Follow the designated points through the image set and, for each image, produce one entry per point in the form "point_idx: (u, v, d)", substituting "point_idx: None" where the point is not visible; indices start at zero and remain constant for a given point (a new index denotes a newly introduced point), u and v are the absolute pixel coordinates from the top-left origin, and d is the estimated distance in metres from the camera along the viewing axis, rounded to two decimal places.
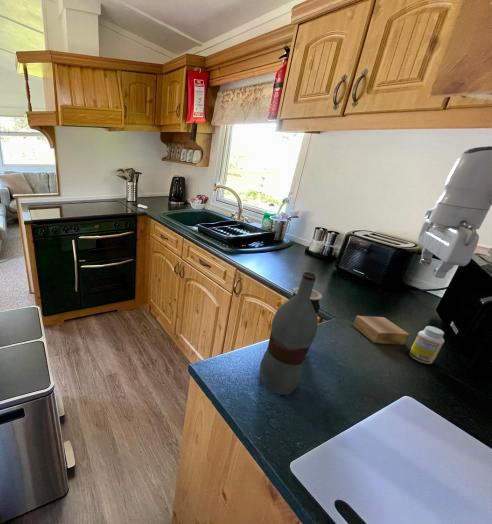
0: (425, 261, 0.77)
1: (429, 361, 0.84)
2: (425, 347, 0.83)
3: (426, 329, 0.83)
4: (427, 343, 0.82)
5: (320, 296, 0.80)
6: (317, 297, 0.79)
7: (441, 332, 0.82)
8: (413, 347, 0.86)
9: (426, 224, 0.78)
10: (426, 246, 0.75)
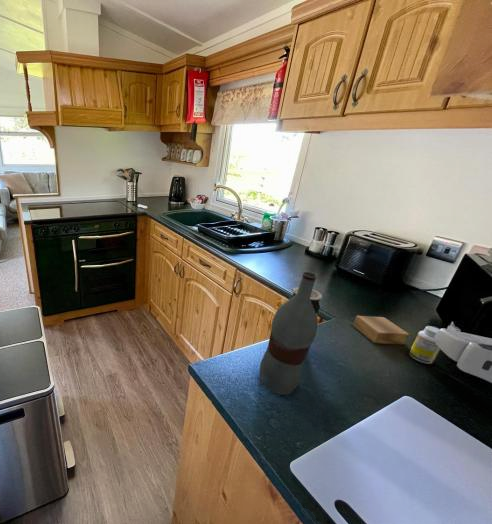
0: None
1: (429, 361, 0.84)
2: (425, 347, 0.83)
3: (426, 329, 0.83)
4: (427, 343, 0.82)
5: (320, 296, 0.80)
6: (317, 297, 0.79)
7: None
8: (413, 347, 0.86)
9: None
10: None
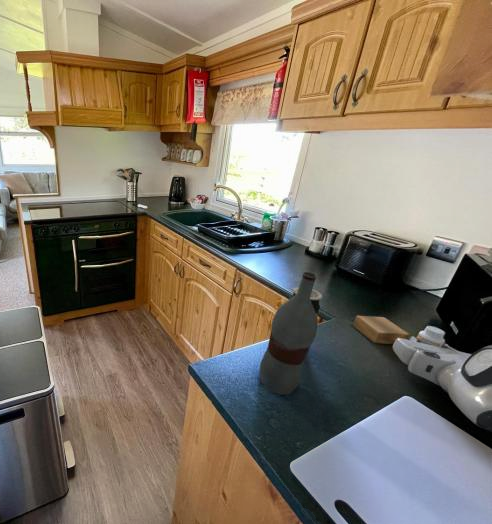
0: None
1: None
2: None
3: (427, 329, 0.83)
4: (428, 343, 0.82)
5: (320, 296, 0.80)
6: (317, 297, 0.79)
7: (442, 332, 0.82)
8: None
9: None
10: None
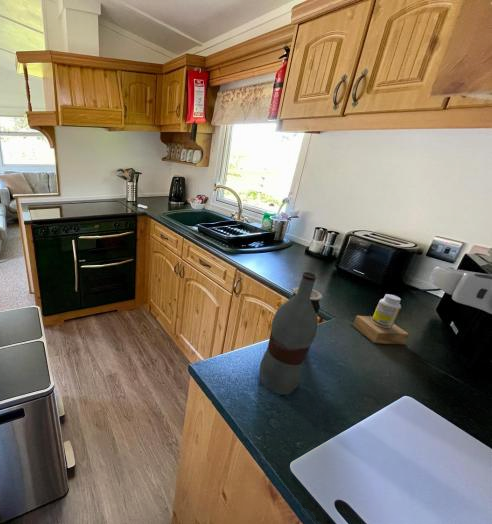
0: None
1: (388, 325, 0.93)
2: (384, 313, 0.93)
3: (385, 296, 0.93)
4: (386, 309, 0.92)
5: (320, 296, 0.80)
6: (317, 297, 0.79)
7: (398, 298, 0.91)
8: (375, 314, 0.96)
9: None
10: None
